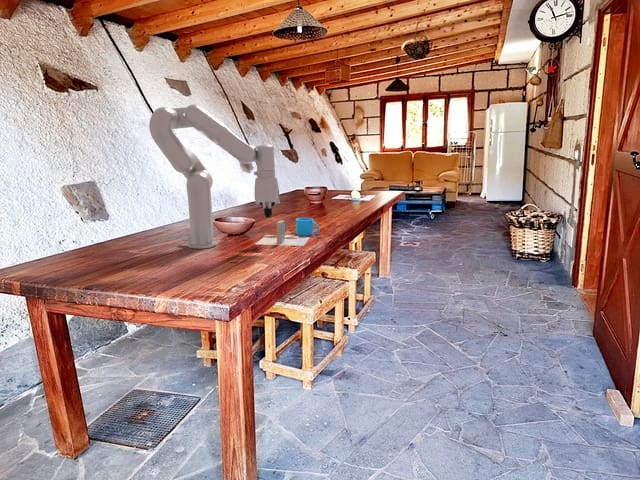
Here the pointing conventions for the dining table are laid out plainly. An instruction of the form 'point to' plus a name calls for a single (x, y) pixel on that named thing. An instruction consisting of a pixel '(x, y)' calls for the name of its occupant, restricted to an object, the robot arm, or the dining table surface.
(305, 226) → the mug
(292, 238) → the turner
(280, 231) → the tile
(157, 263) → the dining table surface
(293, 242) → the board
